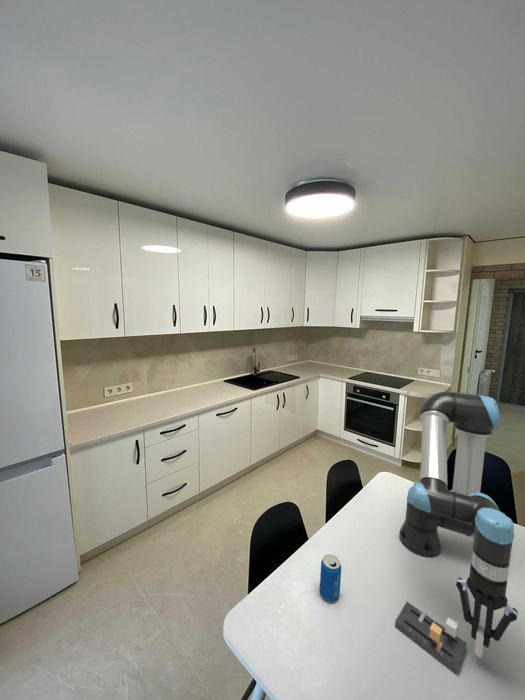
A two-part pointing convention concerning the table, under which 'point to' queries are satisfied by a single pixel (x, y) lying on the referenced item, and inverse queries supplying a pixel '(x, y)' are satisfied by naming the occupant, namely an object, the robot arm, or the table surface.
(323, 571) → the beverage can
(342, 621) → the table surface
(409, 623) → the console
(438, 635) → the fader
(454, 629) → the fader
